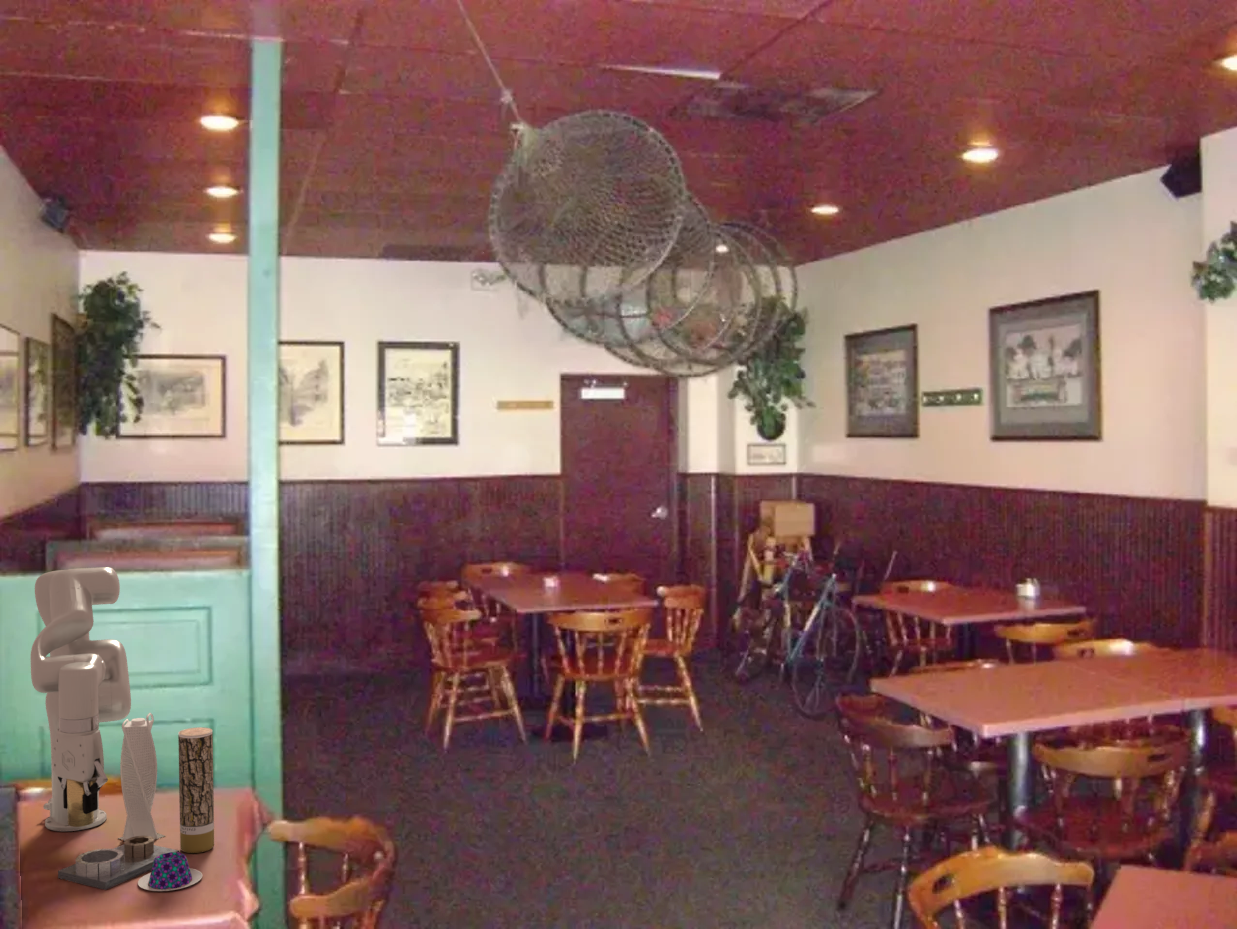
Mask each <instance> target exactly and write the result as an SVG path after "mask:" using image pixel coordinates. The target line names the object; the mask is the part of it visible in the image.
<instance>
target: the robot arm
mask: <svg viewBox="0 0 1237 929" xmlns="http://www.w3.org/2000/svg"><path fill="white" fill-rule="evenodd" d="M120 586H121V585H120V580H119V576H118V573H117V572H116V570H115V569H114V568H113V567H109V566H107V567H106V566H105V567H103V566H102V567H101V566H100V567H83V568H81V567H80V568H68V569H58V570H53V571H48V572H45V573H42V574H41V575H39V576H38V577H37V578H36V580H35V584H34V598H35V603H36V607H37V610H38V614H39V615H40V618H41V620H42V622H43V624H44V626H45V627H44V628H43V629H42V630H41V631H40V632H39V634H38V635H37V636H36V638H35V640H34V641H33V643H32V646H31V650H30V678H31V683H32V686H33V689H35V691H37V692H39V693H43V694H46V695H45V703H44V704H45V710H46V716H47V721H48V728H49V736H50V759H51V760H50V766H51V795H52V796H51V798H49V799H48V801H47V802H46V803H44V804H43V810H47V811H49V816H48V817H47V818H46V819H45V820H44V826H45V828H46V829H48V830H50V831H54V832H73V831H74V832H76V831H82V830H87V829H92V828H95V827H97V826H100V825H102V824H103V823H104V822H105V821H106V820H107V812H106V811H104V810H103V809H100V802H99V798H100V797H99V796H100V791H101V788H102V787H103V786H104V785H105V784H106V783H108V780H109V779H108V777H107V774H106V773H105V771H104V769H105V761H104V760H105V758H104V746H103V740H102V734H101V730H100V723H109V722H116V721H120V720H123V719H125V718H127V716H129V715H130V712H131V709H132V698H131V697H132V696H131V685H130V677H129V676H130V675H129V666H128V660H127V652H126V649H125V647H124V645H123V644H122V643H121V642H120V641H119V640H117V639H111V638H109V639H96V640H95V639H93V640H91V639H90V631H91V630H92V628H93V627H94V614H93V606H95V605H99V606H100V605H101V606H102V605H109V604H110V605H114V604H115V603H116V602H117V601H118V599H119V597H120V593H121V592H120V591H121V590H120V589H121V587H120ZM47 655H49V656H47ZM67 779H69V780H73V781H77V782H82V783H83V785H84V790H85V795H83V812H84V813H85V814H88V813H90V812H93V811H94V822H93V823H92V824H89V825H86V826H81V827H72V826H69V825H68V810H67ZM90 781H92V783H93V784H92V785H91V786H90V784H89V782H90Z"/></svg>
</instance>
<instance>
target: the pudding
mask: <svg viewBox="0 0 1237 929" xmlns="http://www.w3.org/2000/svg"><path fill="white" fill-rule="evenodd" d="M202 878H203V873H202V872H201V871H200V870H198V869H195V868H190V865H189V861H188V858H187V856H186V854H185V853H182V852H180V851H179V852H176V853H174V852H169V853H165V854H161V855H159V856H157V857H156V858H155V859H154V862H153V866H152V870H150V872H149V873H147V874H144V875H143V876H142V877H140V878H139V879H138V880H137V885H138V886H139V888H141V889H144V890H147V891H152V892H169V891H175V890H176V891H177V890H180V889H184V888H188V887H191V886H193V885H195V884H197V883H199V881H201V879H202Z"/></svg>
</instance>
